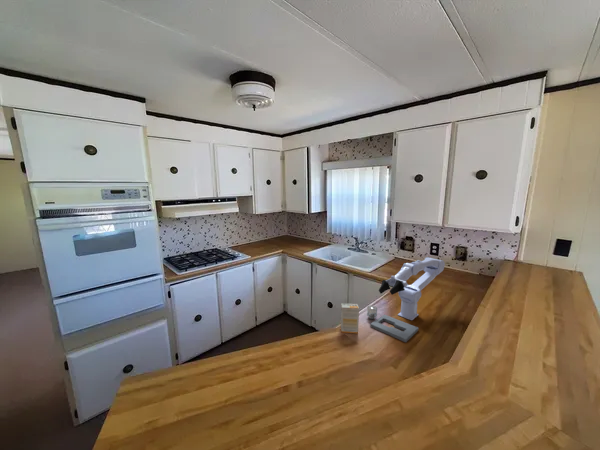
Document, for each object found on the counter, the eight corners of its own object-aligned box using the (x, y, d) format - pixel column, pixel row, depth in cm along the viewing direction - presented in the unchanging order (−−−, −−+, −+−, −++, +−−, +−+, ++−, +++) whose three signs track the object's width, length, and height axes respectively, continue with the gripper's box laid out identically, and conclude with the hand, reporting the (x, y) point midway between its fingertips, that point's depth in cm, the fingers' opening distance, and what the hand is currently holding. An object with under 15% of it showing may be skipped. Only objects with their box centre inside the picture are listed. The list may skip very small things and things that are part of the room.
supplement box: (356, 328, 117) (357, 303, 116) (358, 334, 112) (359, 308, 111) (340, 327, 118) (341, 302, 117) (340, 332, 113) (341, 307, 112)
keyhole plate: (384, 317, 130) (384, 314, 129) (418, 330, 117) (418, 327, 116) (370, 326, 119) (370, 323, 119) (405, 342, 106) (405, 339, 106)
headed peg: (369, 314, 132) (370, 304, 131) (378, 318, 128) (379, 307, 127) (365, 317, 128) (365, 307, 128) (373, 321, 124) (374, 310, 124)
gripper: (387, 271, 131) (371, 284, 125) (408, 271, 118) (392, 286, 112) (392, 282, 131) (377, 296, 125) (414, 283, 118) (399, 299, 112)
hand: (385, 292), depth 118 cm, fingers open, 7 cm apart
